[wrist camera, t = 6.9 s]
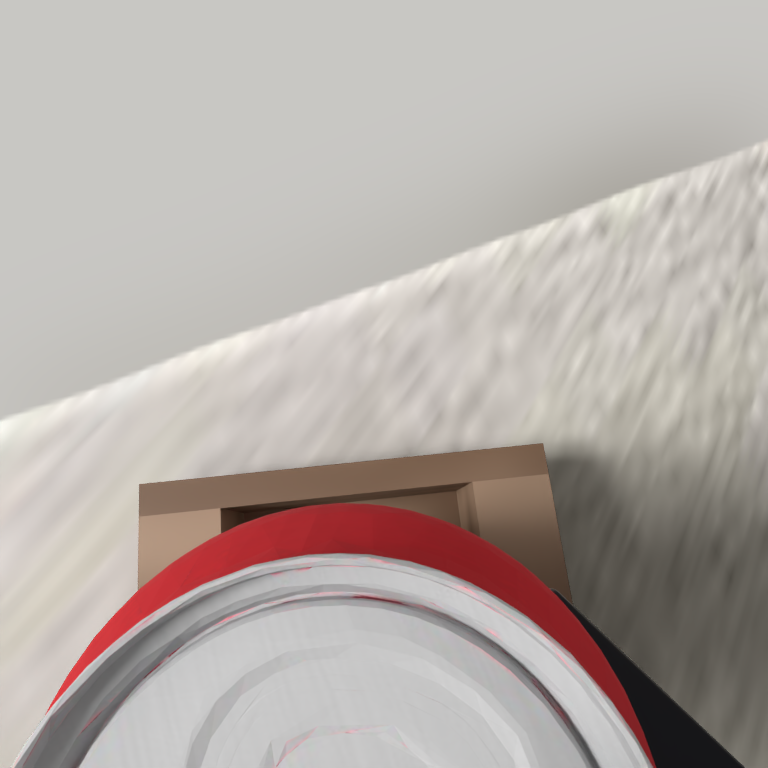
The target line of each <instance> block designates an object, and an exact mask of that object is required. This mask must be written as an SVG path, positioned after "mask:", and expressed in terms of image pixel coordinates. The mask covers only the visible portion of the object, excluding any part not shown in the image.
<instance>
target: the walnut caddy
mask: <svg viewBox="0 0 768 768" xmlns="http://www.w3.org/2000/svg"><path fill="white" fill-rule="evenodd" d="M335 503H354V504H374V505H384V506H390V507H395V508H401V509H406V510H411V511H415V512H418V513H422V514H425V515H428V516H432V517H435V518H438V519H441V520H443V521H446V522H449V523H451V524H454V525H456V526H458V527H461V528H463V529H465V530H467V531H469V532H471V533H473V534H475V535H477V536H478V537H480V538H482V539H484V540H486V541H488V542H489V543H491V544H493V545H495V546H496V547H498V548H499V549H501V550H502V551H504V552H505V553H507V554H508V555H510V556H511V557H512V558H514V559H515V560H517V561H518V562H520V563H521V564H522V565H523V566H525V567H526V568H527V569H528V570H529V571H531V572H532V573H533V574H534V575H535V576H537V577H538V578H539V579H540V580H541V581H542V582H543V583H544V584H545V585H546V586H547V587H548V588H552V589H555V590H557V591H558V592H560V593H561V594H562V595H563V596H564V597H565V598H566V599H567V600H568V601H569V602H570V603H571V604H572V605H573V603H572V598H571V592H570V587H569V582H568V576H567V571H566V565H565V560H564V554H563V549H562V544H561V538H560V533H559V527H558V522H557V517H556V511H555V506H554V500H553V495H552V489H551V484H550V479H549V473H548V468H547V462H546V457H545V451H544V446H543V443H542V444H532V445H522V446H512V447H502V448H492V449H483V450H473V451H463V452H453V453H443V454H433V455H423V456H414V457H404V458H394V459H384V460H374V461H364V462H354V463H344V464H335V465H325V466H315V467H305V468H295V469H285V470H275V471H266V472H256V473H246V474H236V475H226V476H216V477H206V478H197V479H187V480H177V481H167V482H157V483H147V484H139V544H138V590H139V589H140V588H141V587H143V586H144V585H145V584H146V583H148V582H149V581H150V580H151V579H152V578H154V577H155V576H156V575H157V574H159V573H160V572H161V571H162V570H164V569H165V568H166V567H167V566H169V565H170V564H171V563H173V562H174V561H176V560H177V559H179V558H180V557H181V556H183V555H184V554H186V553H187V552H189V551H191V550H192V549H194V548H196V547H197V546H199V545H201V544H203V543H204V542H206V541H208V540H209V539H211V538H213V537H215V536H217V535H219V534H221V533H223V532H225V531H227V530H229V529H232V528H234V527H236V526H238V525H240V524H243V523H246V522H249V521H252V520H254V519H257V518H260V517H263V516H265V515H269V514H273V513H277V512H281V511H285V510H289V509H294V508H299V507H305V506H311V505H323V504H335Z"/></svg>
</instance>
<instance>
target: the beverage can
mask: <svg viewBox="0 0 768 768" xmlns="http://www.w3.org/2000/svg"><path fill="white" fill-rule="evenodd" d="M10 768H656V765H655V763H654V760H653V757H652V754H651V752H650V749H649V746H648V743H647V741H646V738H645V735H644V732H643V730H642V728H641V726H640V723H639V721H638V719H637V717H636V714H635V712H634V710H633V708H632V705H631V703H630V701H629V699H628V697H627V694H626V692H625V690H624V688H623V687H622V685H621V683H620V681H619V680H618V678H617V676H616V675H615V673H614V671H613V670H612V668H611V666H610V665H609V663H608V661H607V659H606V658H605V656H604V654H603V653H602V651H601V649H600V648H599V647H598V645H597V644H596V643H595V641H594V640H593V639H592V637H591V636H590V635H589V633H588V632H587V631H586V629H585V628H584V627H583V625H582V624H581V623H580V621H579V620H578V619H577V618H576V617H575V616H574V614H573V613H572V612H571V611H570V610H569V609H568V608H567V607H566V605H565V604H564V603H563V602H562V601H561V600H560V599H559V598H558V596H557V595H556V594H555V593H554V592H552V591H551V590H550V589H549V588H548V587H547V586H546V585H545V584H544V583H543V582H542V581H541V580H540V579H539V578H538V577H537V576H535V575H534V574H533V573H532V572H531V571H529V570H528V569H527V568H526V567H525V566H523V565H522V564H521V563H520V562H518V561H517V560H515V559H514V558H512V557H511V556H510V555H508V554H507V553H505V552H504V551H502V550H501V549H499V548H498V547H496V546H495V545H493V544H491V543H489V542H488V541H486V540H484V539H482V538H480V537H478V536H477V535H475V534H473V533H471V532H469V531H467V530H465V529H463V528H461V527H458V526H456V525H454V524H451V523H449V522H446V521H443V520H441V519H438V518H435V517H432V516H428V515H425V514H422V513H418V512H415V511H411V510H406V509H401V508H395V507H390V506H384V505H374V504H354V503H335V504H323V505H311V506H305V507H299V508H294V509H289V510H285V511H281V512H277V513H273V514H269V515H265V516H263V517H260V518H257V519H254V520H252V521H249V522H246V523H243V524H240V525H238V526H236V527H234V528H232V529H229V530H227V531H225V532H223V533H221V534H219V535H217V536H215V537H213V538H211V539H209V540H208V541H206V542H204V543H203V544H201V545H199V546H197V547H196V548H194V549H192V550H191V551H189V552H187V553H186V554H184V555H183V556H181V557H180V558H179V559H177V560H176V561H174V562H173V563H171V564H170V565H169V566H167V567H166V568H165V569H164V570H162V571H161V572H160V573H159V574H157V575H156V576H155V577H154V578H152V579H151V580H150V581H149V582H148V583H146V584H145V585H144V586H143V587H141V588H140V589H139V590H138V591H137V592H136V593H135V594H134V595H133V596H132V597H131V598H130V599H129V600H128V601H127V603H126V604H125V605H124V606H123V607H122V608H121V609H120V610H119V611H118V612H117V613H116V614H115V615H114V616H113V617H112V618H111V619H110V620H109V621H108V623H107V624H106V625H105V626H104V627H103V628H102V629H101V631H100V632H99V633H98V634H97V635H96V636H95V637H94V639H93V640H92V642H91V643H90V644H89V646H88V647H87V649H86V650H85V652H84V653H83V654H82V656H81V657H80V659H79V660H78V661H77V663H76V664H75V666H74V667H73V669H72V670H71V671H70V673H69V674H68V676H67V678H66V679H65V681H64V683H63V684H62V686H61V688H60V690H59V691H58V693H57V695H56V696H55V698H54V700H53V702H52V703H51V705H50V707H49V709H48V711H47V713H46V715H45V717H44V718H43V719H42V721H41V722H40V723H39V725H38V726H37V728H36V729H35V730H34V732H33V733H32V734H31V736H30V737H29V739H28V740H27V741H26V743H25V745H24V746H23V748H22V750H21V751H20V753H19V754H18V756H17V758H16V759H15V761H14V763H13V764H12V766H11V767H10Z"/></svg>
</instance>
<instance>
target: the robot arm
mask: <svg viewBox="0 0 768 768" xmlns="http://www.w3.org/2000/svg"><path fill="white" fill-rule="evenodd" d="M549 589H550V590H551V591H552V592H554V593H555V594H556V595H557V596H558V598H559V599H560V600H561V601H562V602H563V603H564V604H565V605H566V607H567V608H568V609H569V610H570V611H571V612H572V613H573V614H574V616H575V617H576V618H577V619H578V620H579V621H580V623H581V624H582V625H583V627H584V628H585V629H586V631H587V632H588V633H589V635H590V636H591V637H592V639H593V640H594V641H595V643H596V644H597V645H598V647H599V648H600V649H601V651H602V653H603V654H604V656H605V658H606V659H607V661H608V663H609V665H610V666H611V668H612V670H613V671H614V673H615V675H616V676H617V678H618V680H619V681H620V683H621V685H622V687H623V688H624V690H625V692H626V694H627V697H628V699H629V701H630V703H631V705H632V708H633V710H634V712H635V714H636V717H637V719H638V721H639V723H640V726H641V728H642V730H643V732H644V735H645V738H646V741H647V743H648V746H649V749H650V752H651V754H652V757H653V760H654V763H655V765H656V768H745V767H744V766H743V765H742V764H741V763H739V762H738V761H737V760H736V759H735V758H734V757H733V756H732V755H731V754H730V753H729V752H728V751H727V750H726V749H725V748H724V747H723V746H721V745H720V744H719V743H718V742H717V741H716V740H715V739H714V738H713V737H712V736H711V735H710V734H709V733H708V732H707V731H706V730H705V729H703V728H702V727H701V726H700V725H699V724H698V723H697V722H696V721H695V720H694V719H693V718H692V717H691V716H690V715H689V714H688V713H687V712H685V711H684V710H683V709H682V708H681V707H680V706H679V705H678V704H677V703H676V702H675V701H674V700H673V699H672V698H671V697H670V696H669V695H668V694H666V693H665V692H664V691H663V690H662V689H661V688H660V687H659V686H658V685H657V684H656V683H655V682H654V681H653V680H652V679H651V678H650V677H648V676H647V675H646V674H645V673H644V672H643V671H642V670H641V669H640V668H639V667H638V666H637V665H636V664H635V663H634V662H633V661H632V660H630V659H629V658H628V657H627V656H626V655H625V654H624V653H623V652H622V651H621V650H620V649H619V648H618V647H617V646H616V645H615V644H614V643H612V642H611V641H610V640H609V639H608V638H607V637H606V636H605V635H604V634H603V633H602V632H601V631H600V630H599V629H598V628H597V627H596V626H594V625H593V624H592V623H591V622H590V621H589V620H588V619H587V618H586V617H585V616H584V615H583V614H582V613H581V612H580V611H579V610H578V609H576V608H575V607H574V606H573V605H572V604H571V603H570V602H569V601H568V600H567V599H566V598H565V597H564V596H563V595H562V594H561V593H560V592H558V591H557V590H555V589H552V588H549Z"/></svg>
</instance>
